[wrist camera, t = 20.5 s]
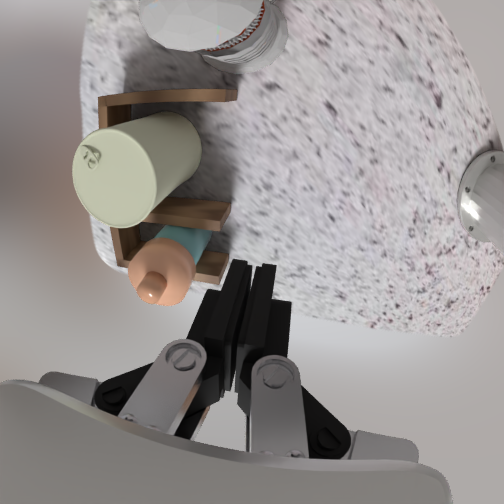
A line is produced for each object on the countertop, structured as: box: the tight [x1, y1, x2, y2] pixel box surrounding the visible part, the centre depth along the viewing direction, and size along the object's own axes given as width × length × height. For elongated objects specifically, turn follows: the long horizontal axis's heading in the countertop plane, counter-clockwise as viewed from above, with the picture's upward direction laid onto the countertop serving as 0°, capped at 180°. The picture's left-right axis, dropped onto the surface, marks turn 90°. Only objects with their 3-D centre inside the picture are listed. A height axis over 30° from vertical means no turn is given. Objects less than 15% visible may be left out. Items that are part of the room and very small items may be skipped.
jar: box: [154, 225, 212, 265], centre depth 33 cm, size 6×6×8 cm
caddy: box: [98, 89, 237, 285], centre depth 31 cm, size 14×22×5 cm, turn 176°
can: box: [72, 112, 202, 228], centre depth 26 cm, size 9×9×12 cm
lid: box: [128, 237, 196, 306], centre depth 27 cm, size 6×6×5 cm
